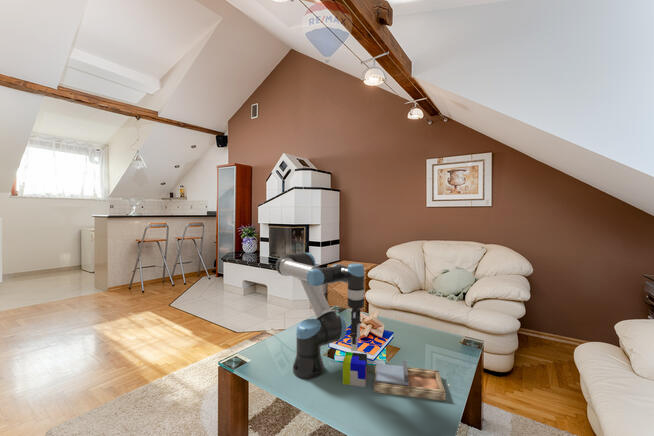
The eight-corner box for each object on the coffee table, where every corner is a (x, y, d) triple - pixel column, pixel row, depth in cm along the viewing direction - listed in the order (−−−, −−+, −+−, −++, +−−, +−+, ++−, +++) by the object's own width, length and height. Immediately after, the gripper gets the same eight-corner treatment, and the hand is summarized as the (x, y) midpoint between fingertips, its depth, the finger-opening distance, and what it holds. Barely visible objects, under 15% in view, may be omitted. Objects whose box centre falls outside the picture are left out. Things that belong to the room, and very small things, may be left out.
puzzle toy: (365, 387, 133) (365, 364, 132) (342, 384, 135) (342, 362, 134) (366, 374, 143) (366, 353, 142) (345, 372, 145) (345, 351, 144)
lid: (375, 381, 131) (375, 373, 131) (376, 365, 144) (376, 357, 144) (408, 385, 128) (408, 376, 128) (406, 368, 142) (406, 360, 142)
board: (374, 391, 129) (374, 384, 129) (375, 369, 147) (375, 363, 147) (445, 400, 123) (445, 392, 123) (438, 376, 141) (438, 369, 141)
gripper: (361, 307, 124) (361, 357, 125) (366, 291, 149) (365, 333, 149) (343, 306, 126) (343, 356, 126) (351, 290, 150) (350, 332, 151)
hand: (355, 343), depth 138 cm, fingers open, 13 cm apart
